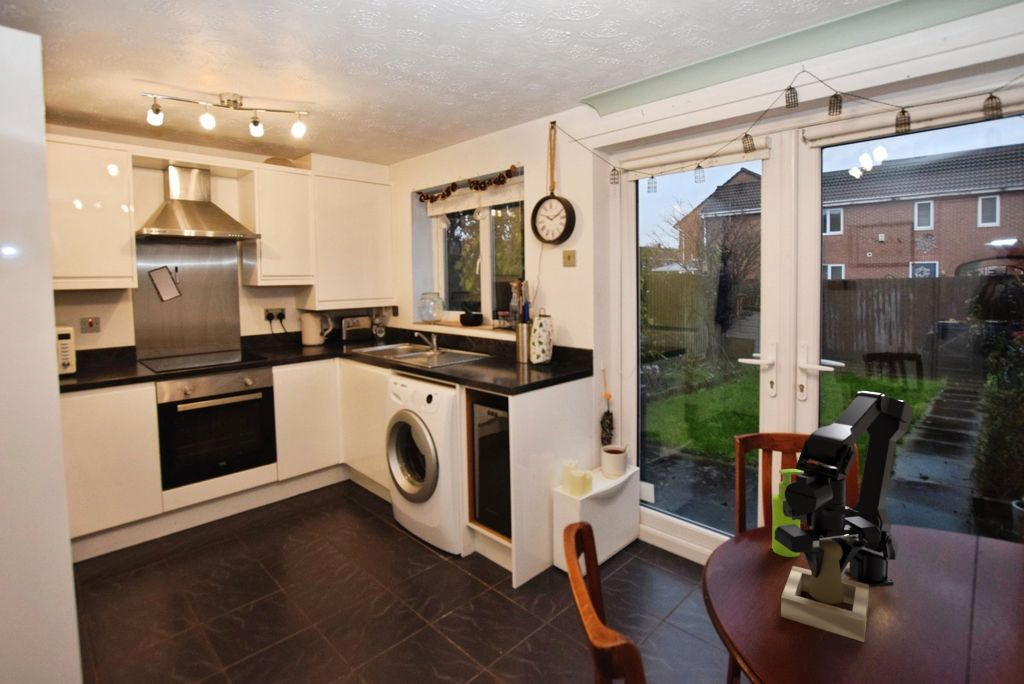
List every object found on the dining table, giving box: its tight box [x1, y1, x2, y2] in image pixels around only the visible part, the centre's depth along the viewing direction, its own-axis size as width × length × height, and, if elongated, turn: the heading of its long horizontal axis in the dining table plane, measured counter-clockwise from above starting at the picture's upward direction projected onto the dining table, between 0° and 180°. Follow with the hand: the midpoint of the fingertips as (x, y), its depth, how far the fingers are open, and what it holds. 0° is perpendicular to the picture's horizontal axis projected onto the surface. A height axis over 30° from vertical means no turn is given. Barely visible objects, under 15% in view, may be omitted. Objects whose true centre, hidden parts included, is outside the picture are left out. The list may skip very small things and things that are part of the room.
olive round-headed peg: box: [807, 539, 844, 605], centre depth 103 cm, size 6×6×11 cm
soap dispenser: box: [771, 468, 804, 558], centre depth 126 cm, size 6×7×20 cm
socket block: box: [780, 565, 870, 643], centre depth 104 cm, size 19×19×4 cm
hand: (826, 575), depth 103 cm, fingers closed on olive round-headed peg, 4 cm apart
